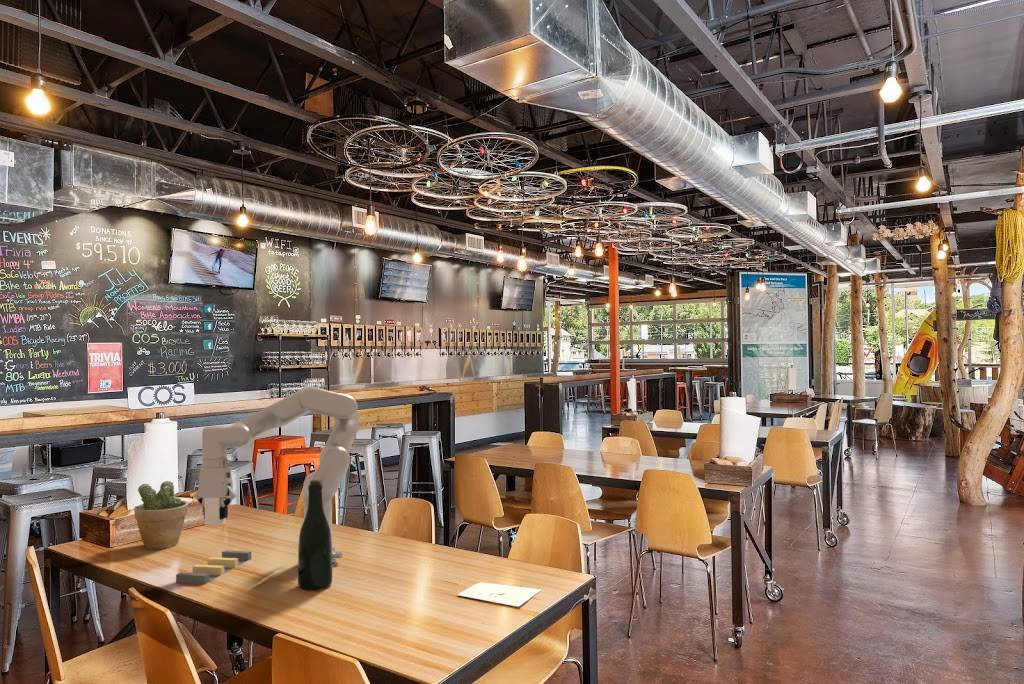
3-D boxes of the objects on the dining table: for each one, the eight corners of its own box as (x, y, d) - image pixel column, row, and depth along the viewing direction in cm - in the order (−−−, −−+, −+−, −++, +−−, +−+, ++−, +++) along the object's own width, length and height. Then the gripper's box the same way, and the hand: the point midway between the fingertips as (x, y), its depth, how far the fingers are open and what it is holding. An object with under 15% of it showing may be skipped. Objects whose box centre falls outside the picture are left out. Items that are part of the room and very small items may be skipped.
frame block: (225, 522, 213) (225, 495, 213) (218, 525, 209) (218, 497, 209) (211, 521, 213) (211, 495, 213) (204, 525, 209) (204, 497, 209)
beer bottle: (339, 583, 202) (339, 479, 203) (313, 593, 193) (314, 484, 194) (316, 578, 207) (316, 476, 208) (290, 587, 198) (290, 481, 199)
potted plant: (152, 538, 256) (153, 476, 256) (197, 538, 255) (198, 476, 256) (123, 552, 237) (123, 485, 238) (171, 552, 237) (172, 485, 237)
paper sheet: (449, 596, 191) (449, 592, 191) (503, 572, 215) (503, 569, 215) (515, 611, 178) (515, 607, 178) (564, 584, 203) (564, 580, 203)
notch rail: (251, 562, 223) (251, 551, 224) (205, 588, 198) (205, 575, 198) (225, 561, 225) (225, 550, 225) (176, 587, 199) (176, 574, 199)
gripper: (244, 461, 214) (245, 515, 214) (198, 461, 216) (198, 515, 216) (232, 465, 207) (232, 521, 206) (184, 465, 209) (184, 520, 208)
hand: (215, 517), depth 211 cm, fingers closed on frame block, 5 cm apart
